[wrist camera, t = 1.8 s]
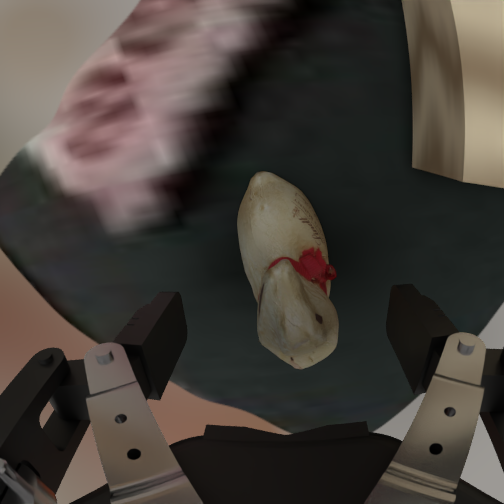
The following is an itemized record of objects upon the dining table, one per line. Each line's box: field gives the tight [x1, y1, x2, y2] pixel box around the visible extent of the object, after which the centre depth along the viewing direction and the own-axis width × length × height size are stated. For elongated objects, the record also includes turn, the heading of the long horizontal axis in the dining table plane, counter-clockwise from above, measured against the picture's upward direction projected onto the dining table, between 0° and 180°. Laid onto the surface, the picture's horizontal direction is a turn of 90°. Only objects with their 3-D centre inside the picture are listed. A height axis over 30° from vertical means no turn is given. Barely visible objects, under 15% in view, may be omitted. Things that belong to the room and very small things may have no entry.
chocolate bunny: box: [237, 171, 339, 369], centre depth 13 cm, size 6×8×10 cm
